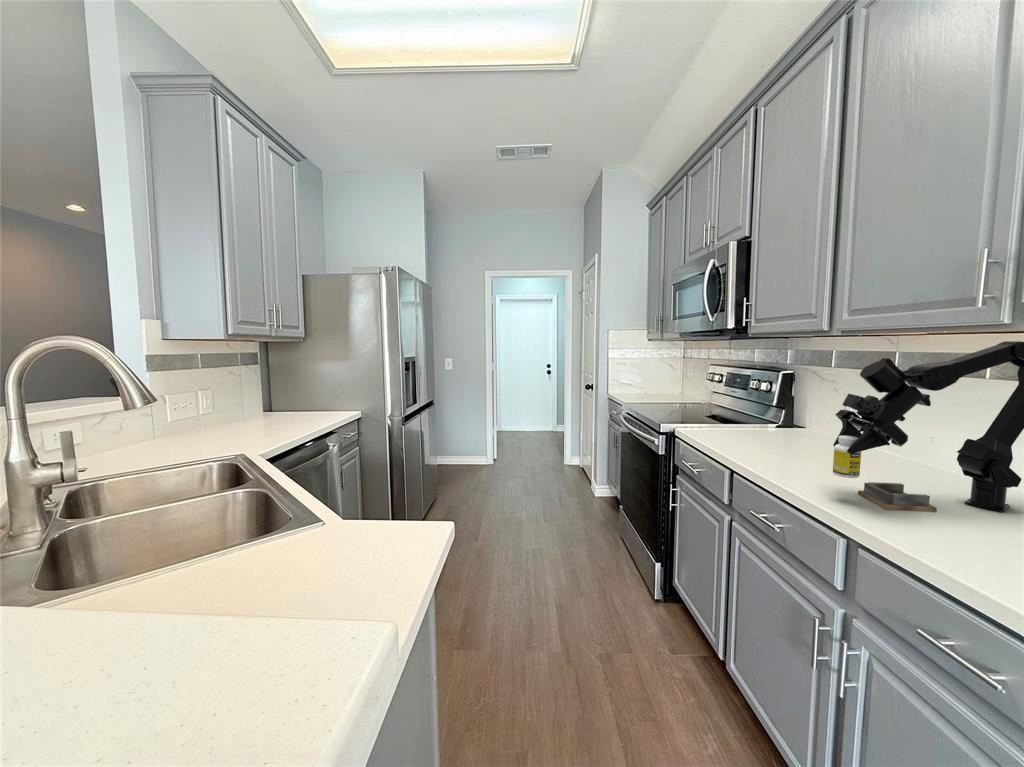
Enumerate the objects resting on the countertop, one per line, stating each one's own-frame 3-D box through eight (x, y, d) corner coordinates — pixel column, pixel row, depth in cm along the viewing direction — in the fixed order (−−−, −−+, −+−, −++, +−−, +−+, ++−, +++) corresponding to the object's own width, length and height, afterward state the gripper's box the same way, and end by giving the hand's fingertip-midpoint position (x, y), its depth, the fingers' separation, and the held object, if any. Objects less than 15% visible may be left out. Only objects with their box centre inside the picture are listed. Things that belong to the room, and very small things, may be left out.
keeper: (902, 495, 113) (904, 482, 113) (936, 511, 103) (937, 497, 102) (858, 494, 115) (858, 481, 114) (886, 509, 104) (887, 495, 104)
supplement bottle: (850, 480, 106) (853, 440, 105) (827, 473, 111) (829, 436, 110) (864, 476, 108) (867, 438, 107) (841, 470, 113) (843, 433, 112)
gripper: (845, 379, 116) (798, 420, 119) (896, 387, 97) (840, 435, 100) (876, 408, 115) (829, 448, 118) (933, 422, 97) (876, 469, 100)
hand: (841, 449), depth 109 cm, fingers closed on supplement bottle, 5 cm apart
